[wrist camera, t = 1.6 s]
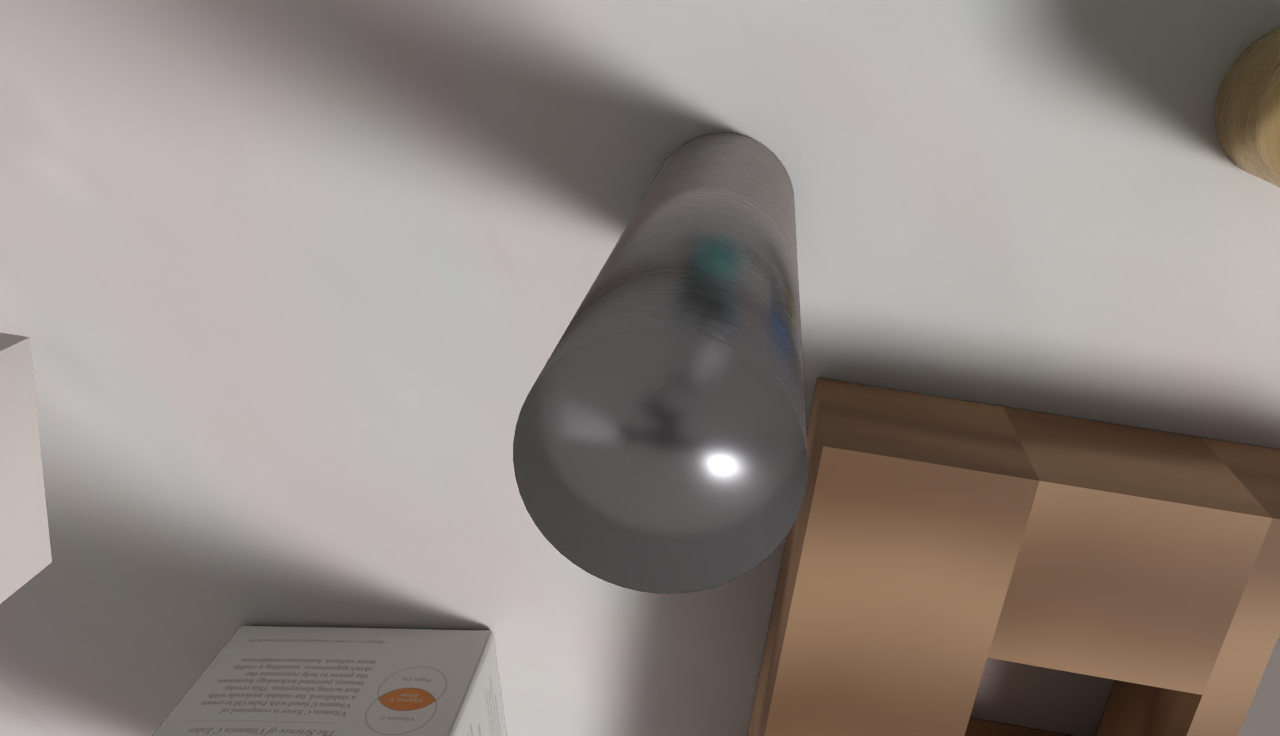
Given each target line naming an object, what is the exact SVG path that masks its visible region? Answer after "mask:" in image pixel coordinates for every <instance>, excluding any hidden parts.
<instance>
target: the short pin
mask: <svg viewBox="0 0 1280 736" xmlns="http://www.w3.org/2000/svg"><path fill="white" fill-rule="evenodd" d="M1215 125H1216V131H1217V135H1218V138H1219V141H1220V143H1221V145H1222V147H1223V149H1224V151H1225V152H1226V153H1227V155H1228V156H1229V158H1230V159H1231V160H1232V161H1233V162H1234V163H1235V164H1236V165H1238V166H1239V167H1240V168H1242V169H1243V170H1245V171H1247V172H1248V173H1250V174H1252V175H1254V176H1257V177H1259V178H1261V179H1263V180H1265V181H1267V182H1270V183H1272V184H1274V185H1276V186H1278V187H1280V28H1278V29H1276V30H1274V31H1272V32H1270V33H1268V34H1266V35H1265V36H1263V37H1261V38H1260V39H1259V40H1257V41H1256V42H1255V43H1253V44H1252V45H1251V46H1250V47H1249V48H1247V49H1246V50H1245V51H1244V52H1243V53H1242V54H1241V55H1240V57H1239V58H1238V59H1237V60H1236V61H1235V62H1234V64H1233V65H1232V67H1231V68H1230V70H1229V71H1228V73H1227V75H1226V77H1225V78H1224V80H1223V82H1222V85H1221V87H1220V90H1219V93H1218V97H1217V101H1216V108H1215Z"/></svg>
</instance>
